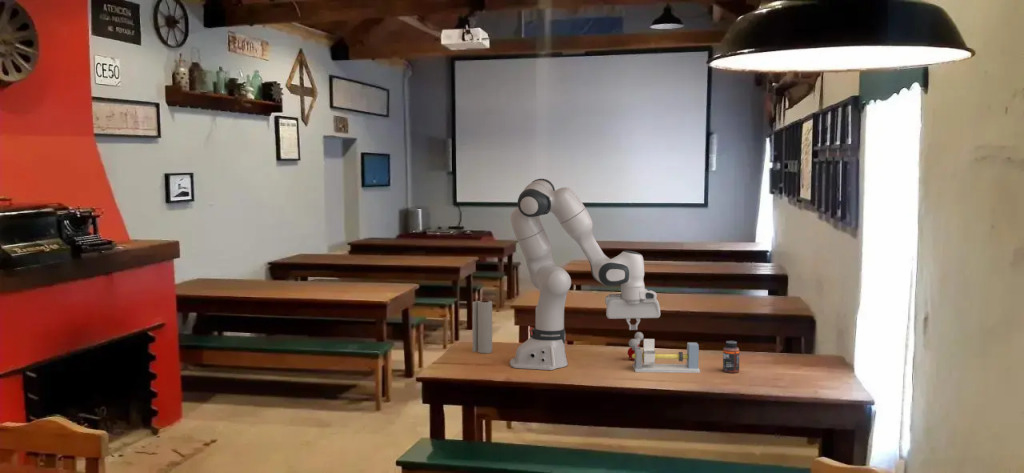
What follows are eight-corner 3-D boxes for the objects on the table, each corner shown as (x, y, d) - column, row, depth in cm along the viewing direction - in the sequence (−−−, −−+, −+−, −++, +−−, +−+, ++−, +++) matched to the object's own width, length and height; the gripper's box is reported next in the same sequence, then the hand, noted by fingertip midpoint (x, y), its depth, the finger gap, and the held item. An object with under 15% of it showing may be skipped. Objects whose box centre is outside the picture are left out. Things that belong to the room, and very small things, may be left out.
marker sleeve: (644, 364, 297) (644, 340, 296) (642, 361, 302) (642, 337, 301) (654, 364, 297) (655, 340, 296) (653, 361, 302) (653, 337, 301)
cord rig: (633, 372, 295) (633, 345, 295) (630, 366, 304) (630, 340, 304) (700, 372, 295) (700, 346, 294) (695, 366, 304) (695, 341, 303)
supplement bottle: (738, 370, 299) (739, 340, 298) (739, 374, 293) (740, 343, 292) (722, 369, 300) (722, 339, 299) (723, 373, 294) (723, 343, 293)
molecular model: (638, 365, 306) (638, 340, 305) (623, 364, 307) (624, 339, 306) (644, 355, 322) (645, 331, 321) (631, 354, 324) (631, 330, 323)
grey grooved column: (495, 351, 329) (495, 300, 327) (487, 354, 324) (487, 302, 322) (480, 349, 332) (480, 299, 331) (472, 352, 327) (472, 301, 325)
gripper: (605, 295, 295) (606, 332, 296) (660, 294, 294) (661, 331, 295) (604, 292, 301) (605, 328, 302) (658, 291, 300) (658, 327, 301)
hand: (633, 329), depth 299 cm, fingers closed
